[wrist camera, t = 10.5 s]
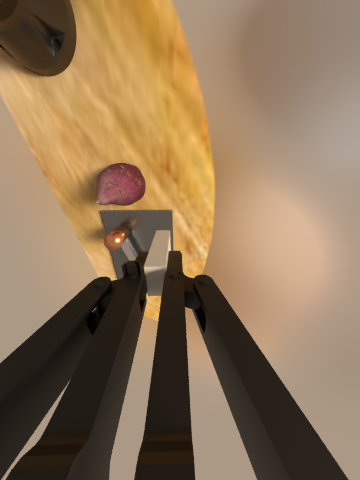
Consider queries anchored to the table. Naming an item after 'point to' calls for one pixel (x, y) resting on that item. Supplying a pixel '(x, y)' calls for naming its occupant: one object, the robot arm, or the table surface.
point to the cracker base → (136, 230)
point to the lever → (120, 242)
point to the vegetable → (120, 185)
